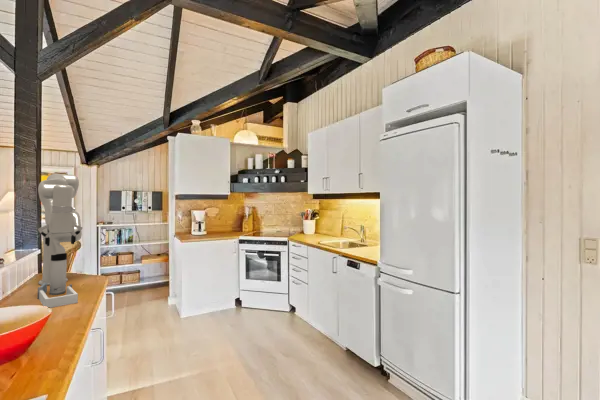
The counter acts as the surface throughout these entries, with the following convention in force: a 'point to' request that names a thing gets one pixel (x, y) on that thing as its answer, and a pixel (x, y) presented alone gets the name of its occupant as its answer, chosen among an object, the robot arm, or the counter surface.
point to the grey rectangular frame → (59, 298)
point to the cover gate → (43, 287)
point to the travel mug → (58, 274)
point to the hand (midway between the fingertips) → (60, 244)
